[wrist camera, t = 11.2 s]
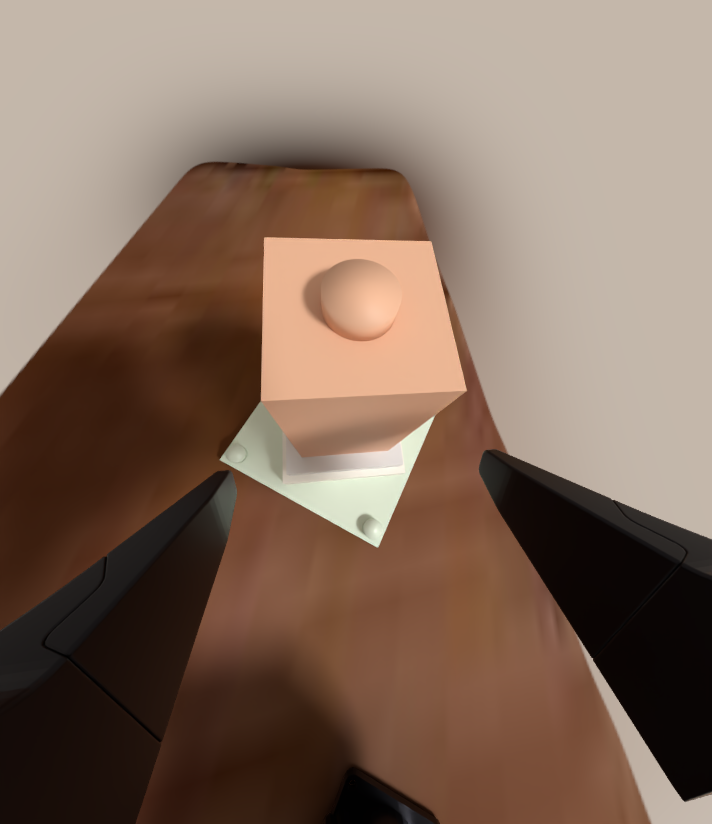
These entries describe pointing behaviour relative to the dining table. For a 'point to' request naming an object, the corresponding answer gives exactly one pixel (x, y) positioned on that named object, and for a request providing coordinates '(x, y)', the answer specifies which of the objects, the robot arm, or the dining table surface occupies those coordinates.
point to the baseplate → (333, 500)
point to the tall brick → (354, 342)
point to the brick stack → (339, 465)
